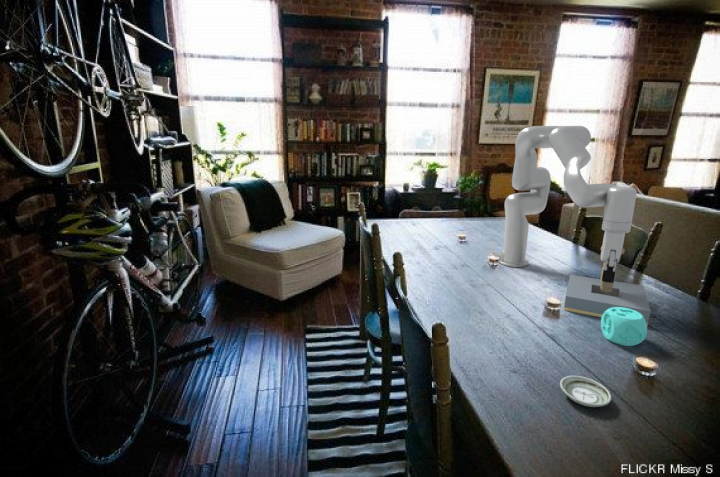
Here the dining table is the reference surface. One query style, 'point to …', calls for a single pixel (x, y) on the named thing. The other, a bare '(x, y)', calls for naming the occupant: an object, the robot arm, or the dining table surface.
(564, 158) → the robot arm
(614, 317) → the decorative dice
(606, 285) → the handle
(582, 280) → the socket block
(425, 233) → the dining table surface
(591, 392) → the saucer
